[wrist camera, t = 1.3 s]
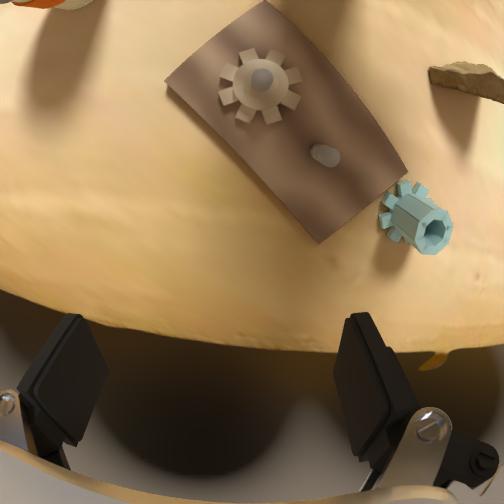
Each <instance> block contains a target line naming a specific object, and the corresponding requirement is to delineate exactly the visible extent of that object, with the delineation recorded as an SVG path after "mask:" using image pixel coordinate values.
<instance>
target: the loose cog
mask: <svg viewBox="0 0 504 504" xmlns="http://www.w3.org/2000/svg"><path fill="white" fill-rule="evenodd" d="M396 184H397V190H398V196H397V197H395V196H394V195H392V194H391V193H389V192H388V191H387V192H386V194H385V196H384V197H383V199H382V201H381V203H383V204H384V205H386V206H387V207H389V208H390V209H389V211H388V212H385V213H382V214H379V215H378V216H379V222H380V226H381V227H382V228H383V229H385V228H388V227H391V228H390V229H389V231H388V233H387V234H386V236H387V237H388V238H389V239H391V240H393V241H394V242H396V243H398V242H399V240H400V239H401V237H402V236H403V237H404V241H405V242H406V243H407V244H409V243H410V244H411V245H413V246H414V247H415V248H416V249H417V250H418V251H419V252H420V253H421V254H427V255H435V254H437V253H438V252H439V251H441V250H442V249H443V248H444V247H445V246H446V245H447V244H448V243H449V240H450V236H451V233H452V229H453V223H452V221H451V218H450V216H449V214H448V212H447V211H446V210H444V209H443V208H441V207H439V206H438V205H436V204H434V200H432V199H431V198H428V199H426V198H425V197H426V195H427V193H428V191H429V190H428V189H427V188H425V187H424V186H423V185H422V184H420V183H418V182H417V183H416V185H415V187H414V189H413V190H412V187H411V182H410V181H408V180H406V181H403V182H399V183H396Z"/></svg>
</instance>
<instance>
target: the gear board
mask: <svg viewBox="0 0 504 504" xmlns="http://www.w3.org/2000/svg"><path fill="white" fill-rule="evenodd" d="M164 82H165V83H167V84H168V85H169V86H170V87H171V88H172V89H173V90H174V91H175V92H176V93H177V94H178V95H179V96H180V97H181V98H182V99H183V100H184V101H185V102H187V103H188V104H189V105H190V106H191V107H192V108H193V109H194V110H195V111H196V112H197V113H198V114H199V115H200V116H201V117H202V118H203V119H204V120H205V121H206V122H207V123H208V124H209V125H210V126H211V127H212V128H213V129H214V130H215V131H216V132H217V133H218V134H219V135H220V136H221V137H222V138H223V139H224V140H225V141H226V142H227V144H228V145H229V146H230V147H231V148H232V149H233V150H234V151H235V152H236V153H237V154H238V155H239V156H240V157H241V158H242V159H243V160H244V161H245V162H246V163H247V164H248V166H249V167H250V168H251V169H252V170H253V171H254V172H255V173H256V174H257V175H258V176H259V177H260V178H261V180H262V181H263V182H264V183H265V184H266V185H267V186H268V187H269V188H270V189H271V191H272V192H273V193H274V194H275V195H276V196H277V197H278V198H279V199H280V201H281V202H282V203H283V204H284V205H285V206H286V207H287V208H288V210H289V211H290V212H291V213H292V214H293V215H294V216H295V218H296V219H297V220H298V221H299V222H300V223H301V224H302V226H303V227H304V228H305V229H306V230H307V231H308V233H309V234H310V235H311V236H312V237H313V238H314V240H315V241H316V242H317V243H318V244H320V243H321V242H322V241H324V240H325V239H326V238H327V237H329V236H330V235H331V234H333V233H334V232H335V231H336V230H338V229H339V228H340V227H341V226H343V225H344V224H345V223H346V222H348V221H349V220H350V219H351V218H353V217H354V216H355V215H356V214H358V213H359V212H360V211H361V210H363V209H364V208H365V207H366V206H367V205H369V204H370V203H371V202H372V201H374V200H375V199H376V198H377V197H378V196H380V195H381V194H382V193H383V192H385V191H386V190H387V189H388V188H389V187H391V186H392V185H393V184H394V183H395V182H397V181H398V180H399V179H400V178H401V177H403V176H404V175H405V174H406V173H407V172H408V170H407V169H406V167H405V165H404V164H403V162H402V160H401V159H400V157H399V155H398V154H397V152H396V150H395V149H394V147H393V146H392V144H391V142H390V141H389V139H388V138H387V136H386V135H385V133H384V132H383V130H382V129H381V127H380V126H379V124H378V123H377V122H376V120H375V119H374V117H373V116H372V114H371V113H370V112H369V110H368V109H367V108H366V106H365V105H364V104H363V102H362V101H361V100H360V98H359V97H358V96H357V94H356V93H355V92H354V91H353V89H352V88H351V87H350V85H349V84H348V83H347V82H346V81H345V79H344V78H343V77H342V76H341V75H340V73H339V72H338V71H337V70H336V69H335V68H334V66H333V65H332V64H331V63H330V62H329V61H328V60H327V58H326V57H325V56H324V55H323V54H322V53H321V52H320V51H319V50H318V49H317V48H316V47H315V46H314V45H313V43H312V42H311V41H310V40H309V39H308V38H307V37H306V36H305V35H304V34H303V33H302V32H301V31H300V30H299V29H298V28H296V27H295V26H294V25H293V24H292V23H291V22H290V21H289V20H288V19H287V18H286V17H285V16H284V15H282V14H281V13H280V12H279V11H278V10H277V9H276V8H275V7H273V6H272V5H271V4H270V3H269V2H267V1H266V0H264V1H262V2H261V3H259V4H258V5H256V6H255V7H253V8H252V9H250V10H249V11H247V12H246V13H245V14H243V15H242V16H240V17H239V18H237V19H236V20H235V21H233V22H232V23H231V24H229V25H228V26H227V27H225V28H224V29H223V30H221V31H220V32H219V33H218V34H216V35H215V36H214V37H212V38H211V39H210V40H209V41H208V42H206V43H205V44H204V45H203V46H202V47H200V48H199V49H198V50H197V51H196V52H195V53H193V54H192V55H191V56H190V57H189V58H188V59H187V60H186V61H184V62H183V63H182V64H181V65H180V66H179V67H178V68H177V69H176V70H175V71H174V72H173V73H172V74H171V75H170V76H169V77H167V78H166V79H165V80H164Z"/></svg>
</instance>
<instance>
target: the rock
mask: <svg viewBox="0 0 504 504" xmlns="http://www.w3.org/2000/svg"><path fill="white" fill-rule="evenodd" d="M429 70H430V79H431V82H432V84H435V85H440V86H441V87H445V88H449V89H454V90H458V91H462V92H465V93H470V94H473V95H476V96H480V97H483V98H486V99H491V100H493V101H497V102H500V103H502V104H504V79H503V78H501V77H500V76H499V75H497V74H496V73H495V71H493V69H491V68H490V67H488V66H486V65H484V64H478V65H475V64H471V63H467V62H456V63H453V64H451V65H445V66H443V67H441V68H440V67H436V66H431V67H429Z"/></svg>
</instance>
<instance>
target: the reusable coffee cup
mask: <svg viewBox="0 0 504 504" xmlns="http://www.w3.org/2000/svg"><path fill="white" fill-rule="evenodd" d="M92 1H94V0H0V4H4V3H8V2H12V3H13V4H14V5H17V6H25V7H34V8H42V9H45V8H51V7H55V8H60V9H65V10H75V9H79V8H81V7H84V6H86V5H88V4H89V3H91V2H92Z"/></svg>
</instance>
